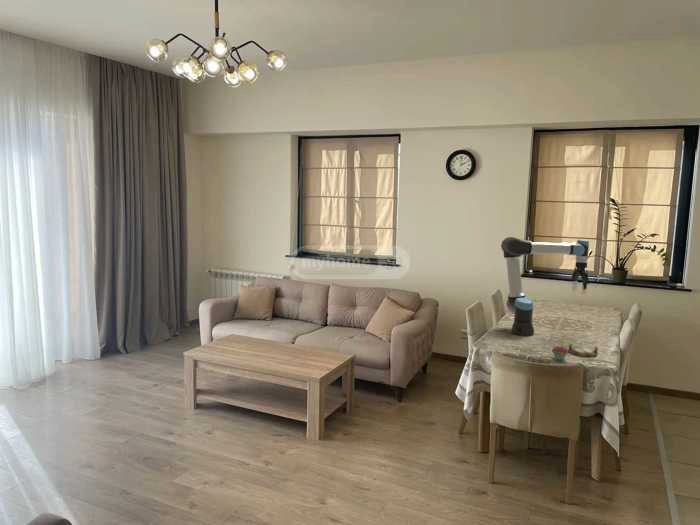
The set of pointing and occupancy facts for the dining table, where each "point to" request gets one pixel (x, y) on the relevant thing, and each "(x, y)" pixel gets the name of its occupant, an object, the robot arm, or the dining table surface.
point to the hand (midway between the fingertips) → (579, 292)
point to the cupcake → (560, 352)
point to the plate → (582, 351)
